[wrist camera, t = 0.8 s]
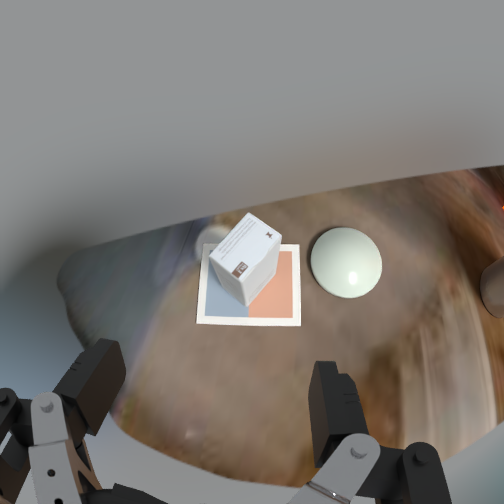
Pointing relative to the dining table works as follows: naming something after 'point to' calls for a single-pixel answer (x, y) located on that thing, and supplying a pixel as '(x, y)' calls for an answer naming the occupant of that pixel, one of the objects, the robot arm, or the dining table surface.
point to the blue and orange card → (263, 306)
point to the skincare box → (247, 258)
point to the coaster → (346, 263)
